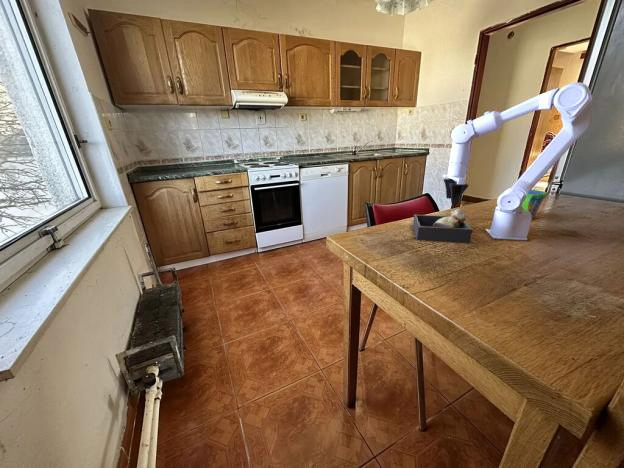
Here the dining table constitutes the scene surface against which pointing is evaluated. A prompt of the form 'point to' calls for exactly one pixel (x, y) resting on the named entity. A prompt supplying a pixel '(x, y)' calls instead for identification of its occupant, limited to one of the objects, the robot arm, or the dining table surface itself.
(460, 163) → the robot arm
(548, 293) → the dining table surface
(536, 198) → the snack cup
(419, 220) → the bin
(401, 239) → the dining table surface
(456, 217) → the chocolate bunny
